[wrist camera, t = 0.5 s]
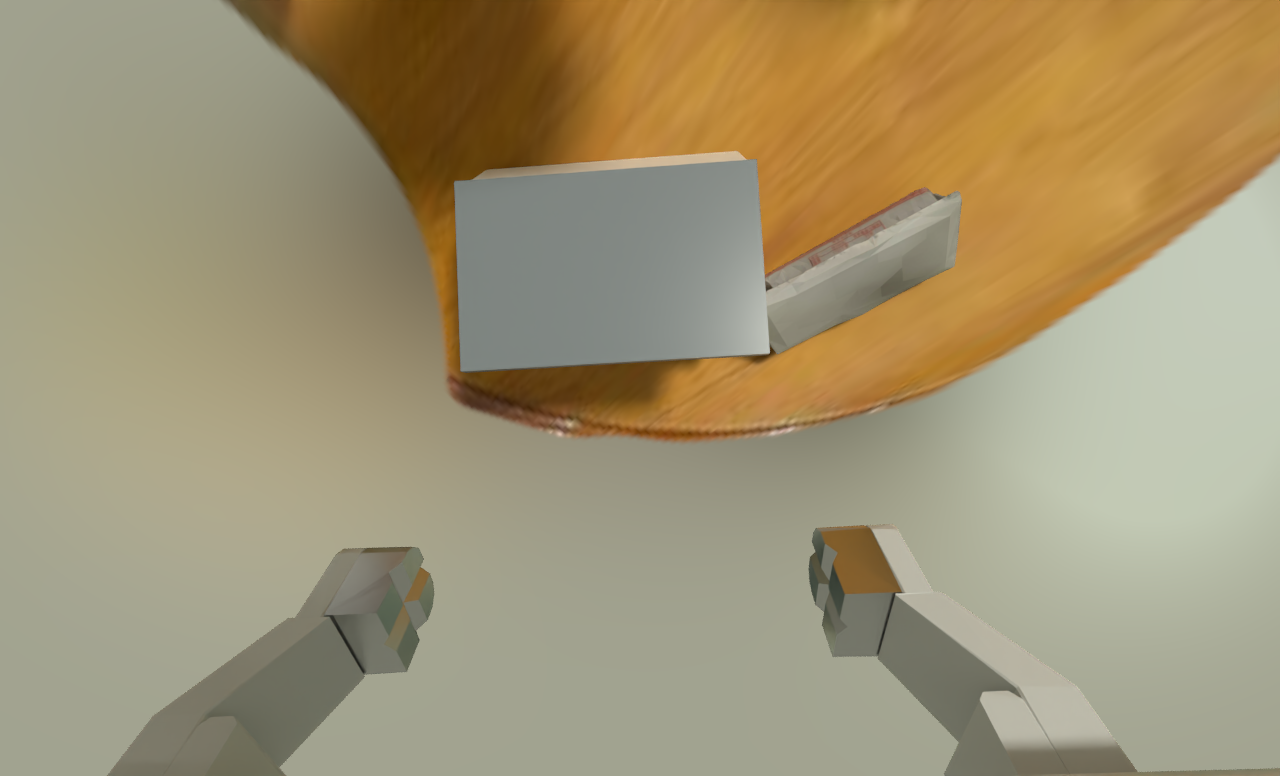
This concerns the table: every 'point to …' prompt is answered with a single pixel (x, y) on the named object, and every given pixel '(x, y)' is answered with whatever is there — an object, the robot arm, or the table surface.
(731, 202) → the lid
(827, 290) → the packaged product
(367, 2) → the table surface
